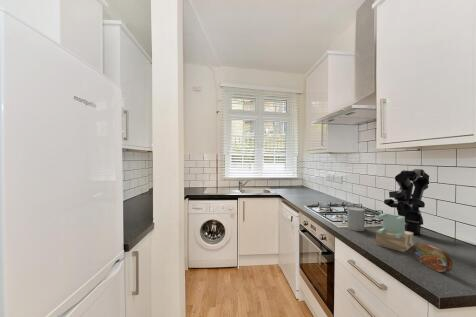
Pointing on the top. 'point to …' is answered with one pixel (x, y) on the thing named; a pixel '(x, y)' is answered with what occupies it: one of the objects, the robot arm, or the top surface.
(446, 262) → the tin
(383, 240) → the beige ridged block
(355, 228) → the grey round cylinder
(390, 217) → the green notched block
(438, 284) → the top surface
